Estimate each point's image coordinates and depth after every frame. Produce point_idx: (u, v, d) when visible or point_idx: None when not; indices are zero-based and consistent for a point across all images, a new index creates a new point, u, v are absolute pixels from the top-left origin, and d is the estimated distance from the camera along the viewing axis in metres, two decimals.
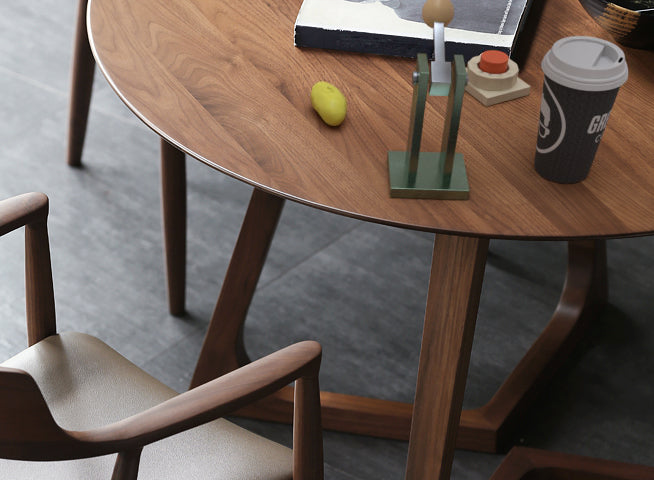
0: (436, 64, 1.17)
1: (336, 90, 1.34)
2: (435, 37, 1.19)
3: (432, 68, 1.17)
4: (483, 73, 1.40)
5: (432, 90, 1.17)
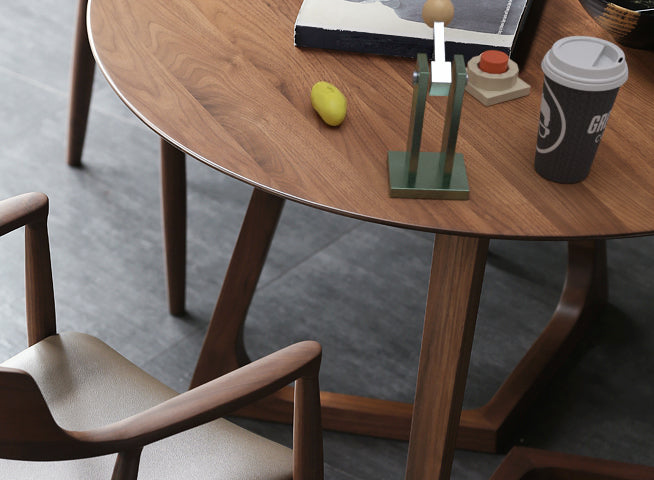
0: (436, 64, 1.17)
1: (336, 90, 1.34)
2: (435, 37, 1.19)
3: (432, 68, 1.17)
4: (483, 73, 1.40)
5: (432, 90, 1.17)
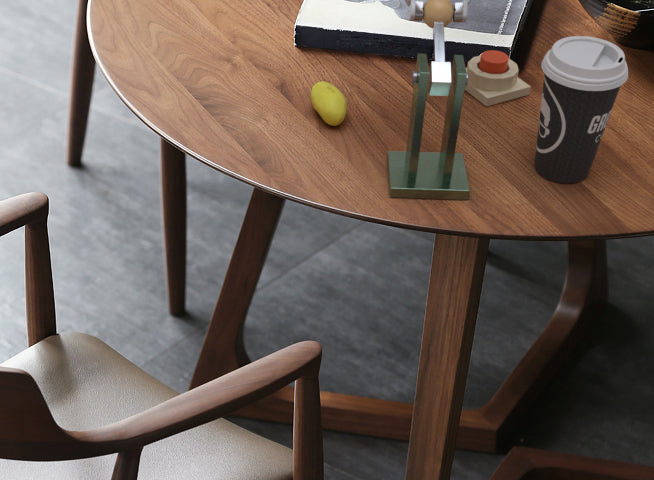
0: (436, 64, 1.17)
1: (336, 90, 1.34)
2: (435, 37, 1.19)
3: (432, 68, 1.17)
4: (483, 73, 1.40)
5: (432, 90, 1.17)
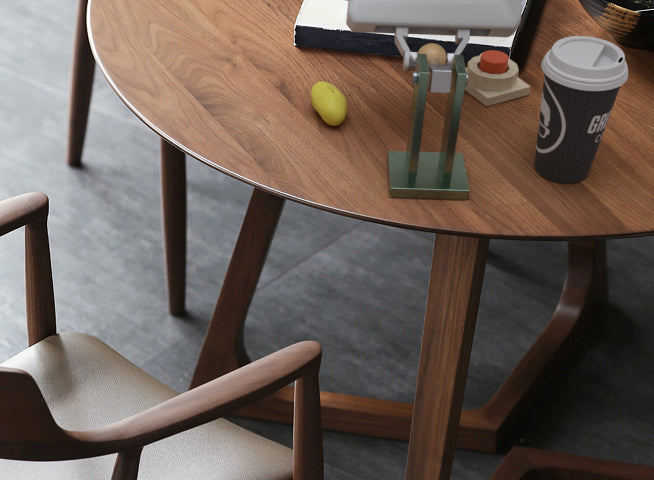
0: (435, 65, 1.18)
1: (336, 90, 1.34)
2: (431, 63, 1.22)
3: (431, 66, 1.17)
4: (483, 73, 1.40)
5: (433, 84, 1.17)
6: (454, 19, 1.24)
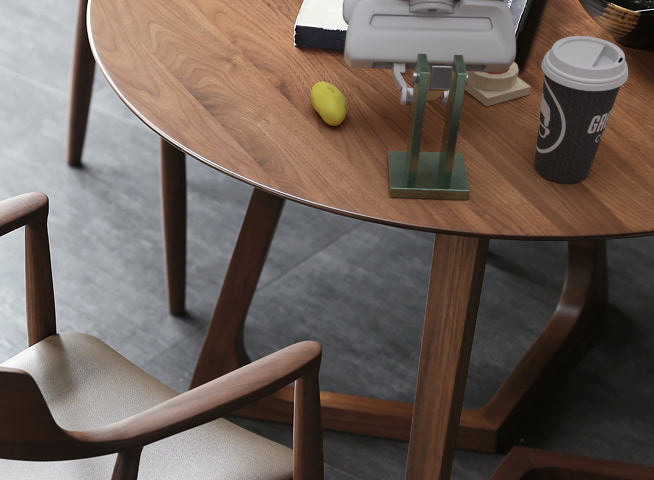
0: None
1: (336, 90, 1.34)
2: None
3: (431, 67, 1.18)
4: (483, 73, 1.40)
5: (434, 79, 1.16)
6: (450, 55, 1.26)
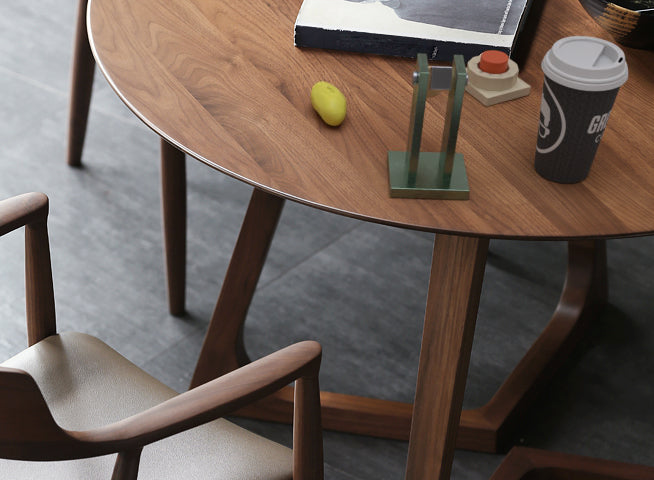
0: None
1: (336, 90, 1.34)
2: None
3: (431, 67, 1.18)
4: (483, 73, 1.40)
5: (434, 80, 1.16)
6: None
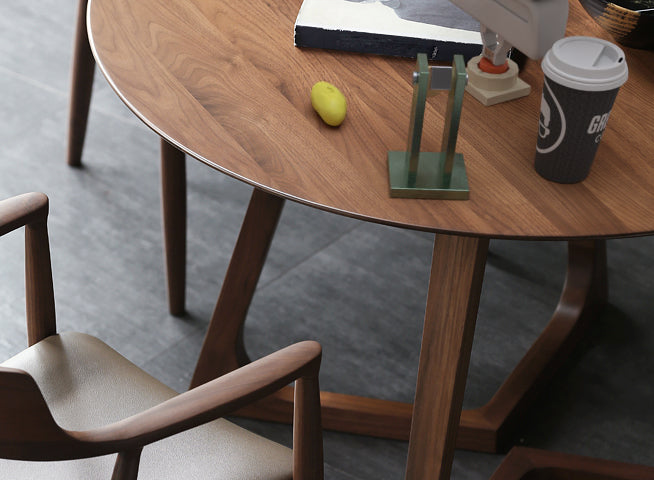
0: None
1: (336, 90, 1.34)
2: None
3: (431, 67, 1.18)
4: (483, 73, 1.40)
5: (434, 80, 1.16)
6: (498, 31, 1.35)
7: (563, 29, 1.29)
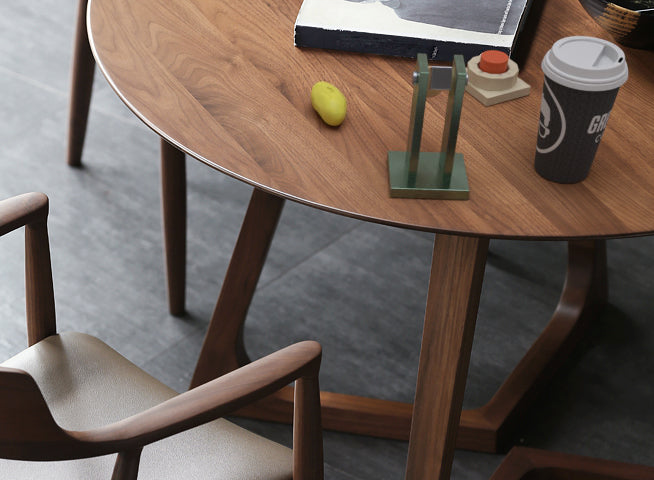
0: None
1: (336, 90, 1.34)
2: None
3: (431, 67, 1.18)
4: (483, 73, 1.40)
5: (434, 80, 1.16)
6: None
7: None
